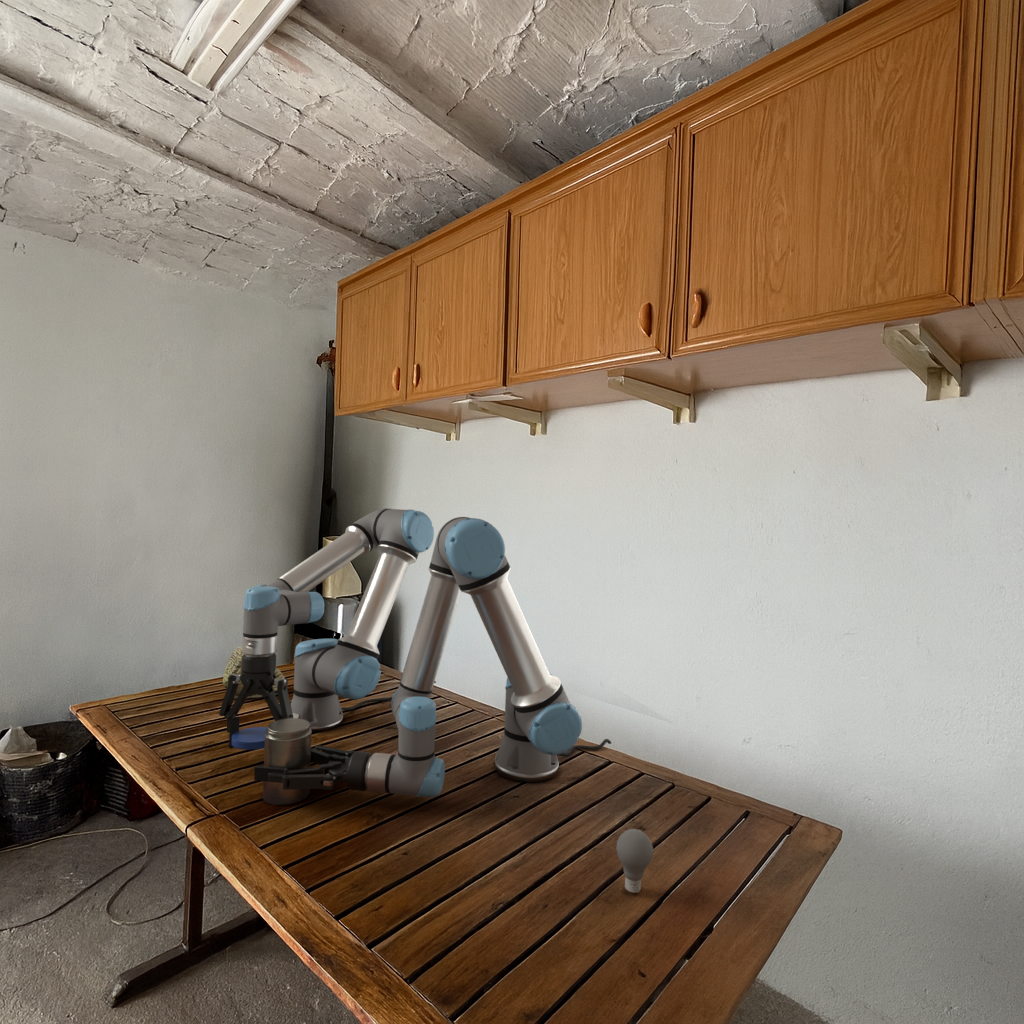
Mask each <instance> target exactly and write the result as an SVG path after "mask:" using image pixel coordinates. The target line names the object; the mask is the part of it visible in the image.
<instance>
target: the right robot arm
mask: <svg viewBox="0 0 1024 1024" xmlns="http://www.w3.org/2000/svg"><path fill="white" fill-rule="evenodd" d="M511 569H512V568H511V565H510V563H509V561H508V558H507V556H506V544H505V541H504V538H503V536H502V534H501V533H500V531H499V530H498V529H497V528H496V527H495V526H494V525H493V524H491V523H490V522H488V521H486V520H485V519H482V518H476V517H468V516H458V517H453V518H452V519H450V520H448V521H447V522H445V523H444V524H443V525H442V526H441V528H440V529H439V530H438V533H437V536H436V538H435V543H434V547H433V550H432V555H431V559H430V563H429V566H428V572H429V573H430V575H431V576H430V579H429V582H428V586H427V590H426V592H425V596H424V599H423V603H422V606H421V609H420V612H419V616H418V620H417V623H416V625H415V626H416V627H415V630H414V633H413V636H412V640H411V643H410V646H409V650H408V654H407V657H406V660H405V664H404V668H403V671H402V674H401V677H400V682H399V685H398V687H397V690H395V692H394V693H393V695H392V696H391V697H392V700H391V703H390V704H391V705H390V706H391V712H392V715H393V717H394V720H395V723H396V727H397V731H398V740H397V741H398V746H397V748H398V749H397V751H398V755H394V754H392V753H384V752H374V753H371V752H370V751H369V752H368V751H355V750H344V749H339V748H335V747H330V746H325V745H324V746H323V745H319V744H316V745H314V747H311V760H310V765H311V764H316V765H318V766H317V767H310V768H307V769H299V770H290V771H287V767H286V768H278V767H266V766H264V765H255V766H254V772H253V773H254V774H253V775H254V776H253V780H254V781H256V782H263V781H268V782H279V783H283V789H284V790H288V789H309V790H319V789H320V790H327V791H332V790H333V789H334V785H335V784H338V783H345V784H346V786H347V790H350V791H356V792H365V791H368V792H371V793H372V792H373V793H380V794H381V795H384V794H394V795H403V796H413V797H416V798H420V797H422V798H424V797H425V798H435V797H438V796H439V795H440V794H441V792H442V790H443V787H444V782H445V777H446V776H445V775H446V765H445V761H444V759H443V758H439V757H437V756H436V754H435V742H436V727H437V726H436V723H437V719H438V716H437V704H436V702H435V700H433V699H431V695H432V692H433V688H434V684H435V683H434V682H435V681H436V679H437V678H436V677H437V675H438V671H439V667H440V664H441V660H442V657H443V654H444V651H445V647H446V644H447V641H448V637H449V634H450V632H451V631H450V630H451V627H452V623H453V620H454V617H455V613H456V610H457V607H458V603H459V600H460V597H461V594H462V593H464V594H467V595H469V596H470V597H471V599H472V602H473V604H474V606H475V608H476V611H477V612H478V615H479V617H480V619H481V622H482V624H483V626H484V628H485V630H486V632H487V635H488V637H489V639H490V641H491V644H492V646H493V649H494V650H495V652H496V655H497V657H498V659H499V661H500V663H501V666H502V668H503V670H504V672H505V676H506V683H505V686H504V689H505V703H504V724H503V726H504V727H503V729H504V730H503V737H502V740H501V743H500V745H499V748H498V750H497V752H496V753H495V757H494V768H495V771H496V772H497V774H499V775H500V776H502V777H504V778H505V779H508V780H512V781H515V782H522V783H540V782H545V781H548V780H551V779H552V778H555V777H556V776H557V775H558V773H559V767H560V765H559V764H560V763H559V758H558V757H568V756H570V755H571V754H572V752H573V751H574V750H589V751H594V750H599V749H601V748H603V747H604V746H605V745H606V744H608V745H611V744H612V741H611V739H609V738H605V739H603V740H602V742H601V743H600V744H598V745H582V744H580V745H579V744H578V745H576V743H577V742H578V741H579V738H580V735H581V733H582V729H583V721H582V716H581V714H580V712H579V710H578V709H577V708H576V706H575V705H573V704H572V703H571V702H570V700H569V697H568V695H567V693H566V691H565V688H564V686H563V684H562V681H561V679H560V678H559V677H558V676H555V675H554V674H551V673H550V672H549V670H548V667H547V666H546V665H547V664H546V663H545V660H544V658H543V656H542V654H541V652H540V649H539V647H538V644H537V642H536V640H535V638H534V635H533V633H532V631H531V629H530V626H529V624H528V622H527V619H526V617H525V615H524V613H523V611H522V608H521V606H520V604H519V601H518V599H517V597H516V595H515V592H514V590H513V588H512V585H511V583H510V581H509V579H508V578H509V575H510V572H511Z"/></svg>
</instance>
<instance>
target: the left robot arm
mask: <svg viewBox="0 0 1024 1024" xmlns="http://www.w3.org/2000/svg"><path fill="white" fill-rule="evenodd" d="M434 537H435V530H434V526H433V522H432V520H431V518H430V517H429V516H428V515H427V514H426V513H424V512H423V511H421V510H415V509H413V508H412V509H401V508H400V509H398V508H381V509H377V510H374V511H372V512H370V513H368V514H365V515H364V516H363V517H361V518H359V519H358V520H356V521H354V522H353V523H351V524H350V525H348V526H347V527H346V528H345V532H344V533H343V534H341V535H340V536H338V537H336V538H335V539H334V540H333V541H331V542H329V543H328V544H326V545H325V546H324V547H322V548H320V549H319V550H317V552H315V553H313V554H312V555H310V556H309V557H307V558H306V559H304V560H303V561H301V562H300V563H298V564H297V565H296V566H294V567H293V568H290V570H288V571H287V572H285V573H284V574H282V575H281V576H279V577H278V578H276V579H275V580H273V581H272V582H270V583H269V584H259V585H255V586H252V587H249V588H248V589H246V591H245V596H244V601H243V625H242V626H243V628H242V646H241V647H242V652H243V653H244V655H243V656H242V662H241V670H242V673H241V675H238V673H235V674H232V675H230V676H229V677H228V687H227V689H225V690H226V691H225V693H224V697H223V700H222V704H221V705H220V708H219V712H218V715H219V716H220V717H225V718H226V733H228V735H229V736H228V749H231V750H232V749H233V748H235V747H233V746H232V735H233V734H234V733H235V732H237V731H239V730H240V721H241V719H240V718H241V717H240V716H238V715H239V712H240V711H241V709H242V707H243V706H244V704H245V703H246V701H247V699H248V698H247V697H248V696H249V694H257V695H262V697H261V698H262V699H263V700H265V703H266V705H267V708H268V709H269V712H270V714H271V716H272V718H273V720H274V721H277V720H281V719H288V718H298V719H304V720H307V721H308V722H309V723H310V728H311V730H312V733H316V732H325V731H329V730H332V729H335V728H337V727H339V726H340V725H342V723H343V722H344V714H343V711H344V712H345V711H353V710H355V709H356V708H359V707H360V706H362V705H365V704H369V703H373V702H374V703H375V702H386V701H387V702H388V701H392V697H393V696H388V697H379V698H370V699H365V700H362V699H364V698H365V697H366V696H369V695H370V694H371V693H372V692H373V691H374V690H375V689H376V687H377V685H378V684H379V682H380V679H381V674H382V670H381V664H380V662H379V661H378V659H379V657H380V651H379V648H378V644H379V642H380V639H381V637H382V634H383V632H384V630H385V626H386V624H387V621H388V619H389V616H390V614H391V611H392V608H393V606H394V604H395V601H396V599H397V596H398V593H399V591H400V588H401V586H402V583H403V581H404V578H405V575H406V573H407V571H408V568H409V566H411V565H412V564H415V563H416V562H417V560H418V558H419V555H420V554H422V553H424V552H426V551H427V550H429V549H430V547H432V544H433V541H434ZM376 549H377V551H378V553H379V557H378V559H377V561H376V563H375V566H374V569H373V571H372V573H371V575H370V578H369V580H368V582H367V585H366V587H365V590H364V592H363V595H362V596H361V599H360V602H359V604H358V607H357V608H356V612H355V614H354V617H353V618H352V621H351V624H350V626H349V629H348V632H347V634H346V635H344V636H342V637H340V638H338V639H337V638H317V639H308V640H304V641H300V642H299V643H297V645H296V646H295V650H294V655H293V657H294V672H293V673H294V674H293V695H292V696H293V697H292V699H291V698H290V695H289V690H288V684H289V679H288V678H287V677H285V678H284V679H280V678H276V676H275V669H276V668H277V654H276V652H277V650H278V631H279V627H283V626H291V625H300V624H309V623H314V622H317V621H319V620H321V618H322V617H323V615H324V613H325V601H324V598H323V595H321V593H319V592H317V591H311V590H312V589H314V588H316V586H318V585H319V584H321V583H323V582H324V581H325V580H327V579H328V578H329V577H331V576H332V575H333V574H335V573H337V572H338V571H339V570H340V569H342V568H343V567H344V566H346V565H348V564H349V563H350V562H352V561H353V560H354V559H356V558H357V557H359V556H360V555H367V554H368V553H370V552H372V551H375V550H376ZM240 681H241V682H242V684H243V688H242V690H241V691H240V693H239V696H238V698H234V697H235V694H236V691H237V688H238V684H239V682H240ZM274 683H275V684H276V688H277V693H278V694H277V695H275V691H274V688H273V685H274ZM434 684H437V681H436V680H435V682H434ZM267 692H269V693H267ZM339 697H340V698H343V699H347V700H353V701H355V700H356V701H357V700H362V701H359V702H358V703H356V704H355V705H352V706H350V707H349V706H348V707H347V706H346V707H345V706H344V707H343V706H341V702H340V699H339ZM234 699H235V700H234Z"/></svg>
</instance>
